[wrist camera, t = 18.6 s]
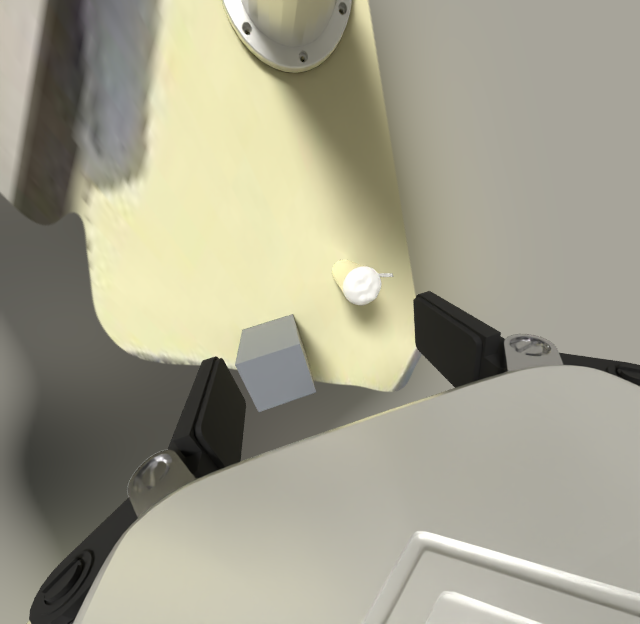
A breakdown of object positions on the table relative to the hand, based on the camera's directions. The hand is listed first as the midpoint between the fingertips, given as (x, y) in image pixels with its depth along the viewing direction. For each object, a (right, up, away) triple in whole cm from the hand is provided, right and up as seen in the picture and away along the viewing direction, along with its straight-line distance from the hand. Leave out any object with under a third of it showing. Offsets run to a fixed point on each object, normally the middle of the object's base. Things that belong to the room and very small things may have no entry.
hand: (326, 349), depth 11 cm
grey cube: (-7, -3, +26) cm, 27 cm away
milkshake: (+3, +8, +24) cm, 25 cm away
